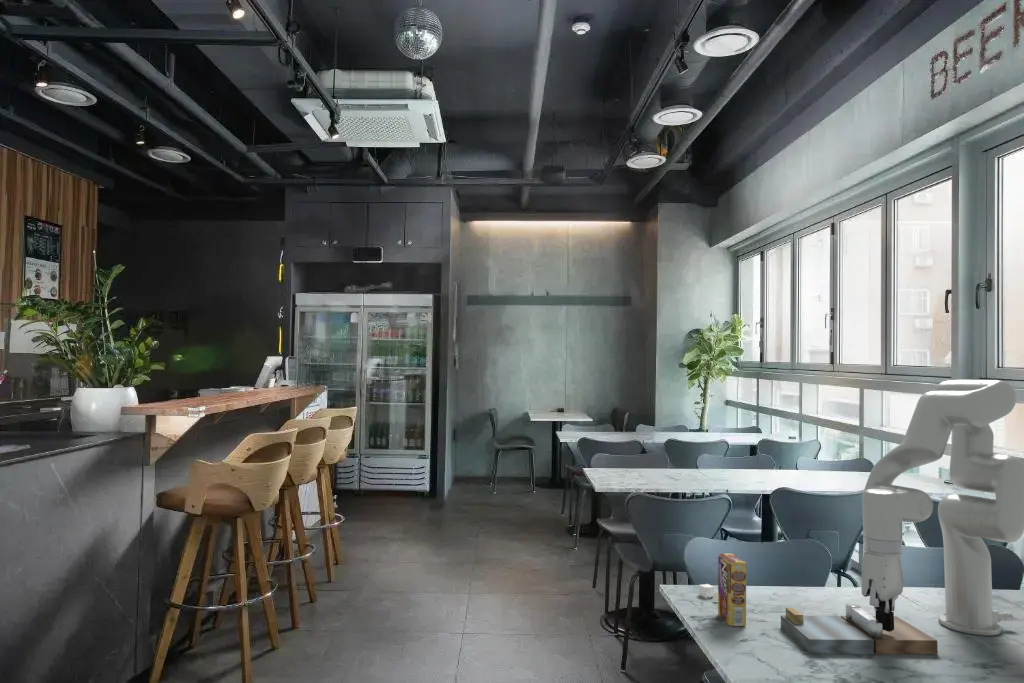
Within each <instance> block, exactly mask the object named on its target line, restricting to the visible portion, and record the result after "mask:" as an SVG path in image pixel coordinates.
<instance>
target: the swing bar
mask: <svg viewBox="0 0 1024 683" xmlns="http://www.w3.org/2000/svg"><path fill="white" fill-rule="evenodd" d="M845 616H846V619H848V620H850V621H853V622H854V623H855V624H856V625H858V626H859V627H860V628H862V629H863V630H864V631H866V632H867V633H868V634H869V635H870V636H871V637H874V638H883V625H882V622H881V621H878V620H877V619H875V618H874V617H872V616H873V615H871V614H869V613H868V612H867V611H865V610H863V608H862V606H860V605H858V604H855V603H847V604H845Z"/></svg>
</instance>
